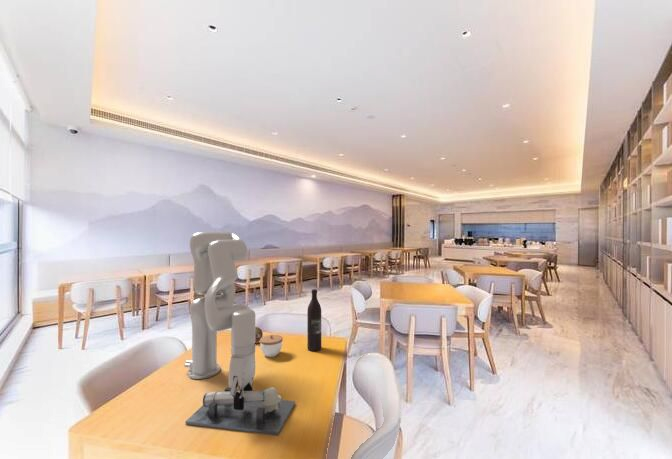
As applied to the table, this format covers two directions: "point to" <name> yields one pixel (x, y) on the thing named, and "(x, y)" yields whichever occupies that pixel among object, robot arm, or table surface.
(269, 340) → the lidded jar
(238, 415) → the peg stand
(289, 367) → the table surface
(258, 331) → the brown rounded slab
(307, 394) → the table surface
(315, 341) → the wine bottle
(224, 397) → the white handheld device
